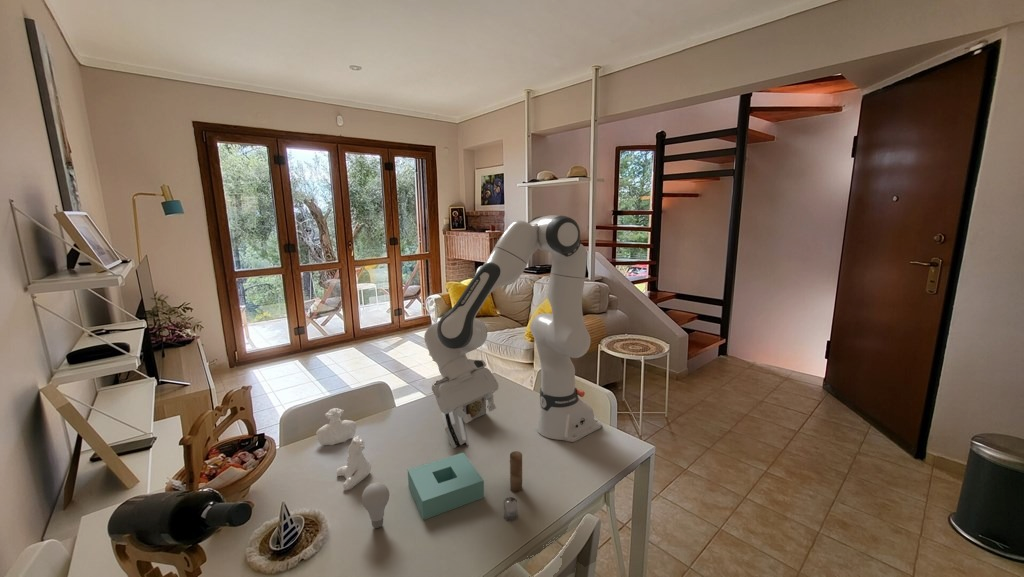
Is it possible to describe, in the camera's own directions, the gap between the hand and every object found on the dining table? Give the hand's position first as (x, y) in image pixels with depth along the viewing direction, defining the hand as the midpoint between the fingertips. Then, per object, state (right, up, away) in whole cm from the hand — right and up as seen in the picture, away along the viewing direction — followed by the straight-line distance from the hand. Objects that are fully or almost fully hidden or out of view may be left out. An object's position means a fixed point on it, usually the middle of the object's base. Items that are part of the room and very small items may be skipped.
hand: (481, 415), depth 113 cm
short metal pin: (+8, -20, -14) cm, 26 cm away
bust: (-49, -14, +19) cm, 54 cm away
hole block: (-9, -18, -6) cm, 21 cm away
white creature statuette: (-35, -18, +1) cm, 39 cm away
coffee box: (-6, -11, +35) cm, 37 cm away
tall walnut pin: (+10, -18, -5) cm, 21 cm away
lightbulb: (-23, -21, -18) cm, 36 cm away
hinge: (-11, -13, +22) cm, 28 cm away
